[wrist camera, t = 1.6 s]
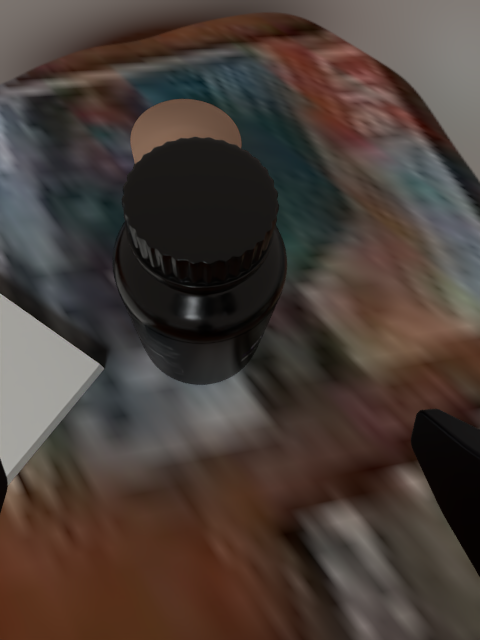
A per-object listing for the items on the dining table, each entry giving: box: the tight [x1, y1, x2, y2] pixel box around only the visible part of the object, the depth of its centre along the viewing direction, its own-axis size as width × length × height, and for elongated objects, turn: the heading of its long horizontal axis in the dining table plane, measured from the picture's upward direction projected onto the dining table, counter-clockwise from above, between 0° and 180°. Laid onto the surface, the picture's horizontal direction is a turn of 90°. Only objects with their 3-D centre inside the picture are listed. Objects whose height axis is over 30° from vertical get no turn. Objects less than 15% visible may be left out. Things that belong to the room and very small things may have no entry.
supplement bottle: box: [113, 137, 287, 385], centre depth 17 cm, size 7×7×12 cm
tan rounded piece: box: [130, 99, 241, 163], centre depth 24 cm, size 6×6×5 cm
